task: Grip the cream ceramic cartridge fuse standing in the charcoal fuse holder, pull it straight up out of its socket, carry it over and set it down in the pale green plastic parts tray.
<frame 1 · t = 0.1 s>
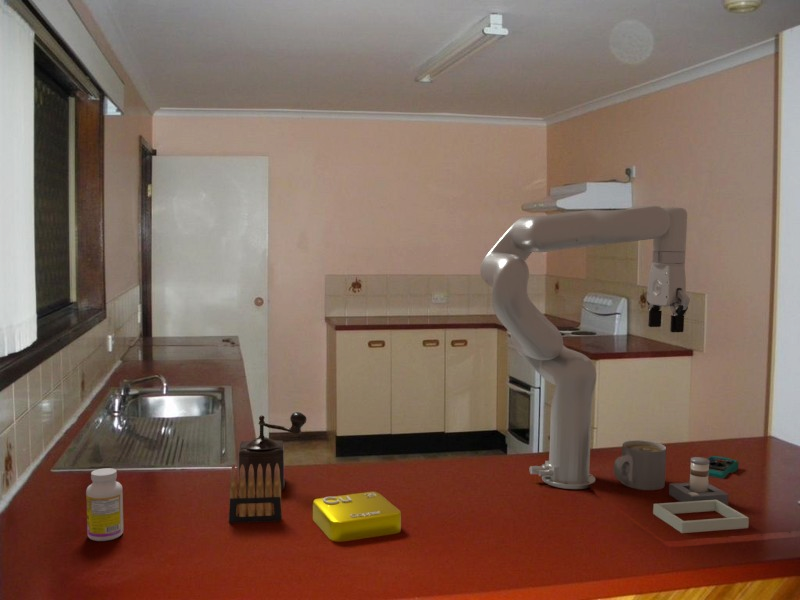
hand: (665, 329, 199), 37 cm above the worktop, tool pointing down, fingers open, 9 cm apart
ammunition clip: (255, 521, 169), on the worktop
supplement bottle: (105, 536, 160), on the worktop
element tile: (356, 527, 168), on the worktop
fuse holder: (697, 504, 183), on the worktop
digital multimeter: (715, 475, 206), on the worktop
fuse: (698, 499, 183), point 1 cm above the worktop, touching fuse holder
coffee mug: (635, 488, 193), on the worktop
parts tray: (699, 525, 170), on the worktop
manual coffee grinder: (272, 486, 191), on the worktop
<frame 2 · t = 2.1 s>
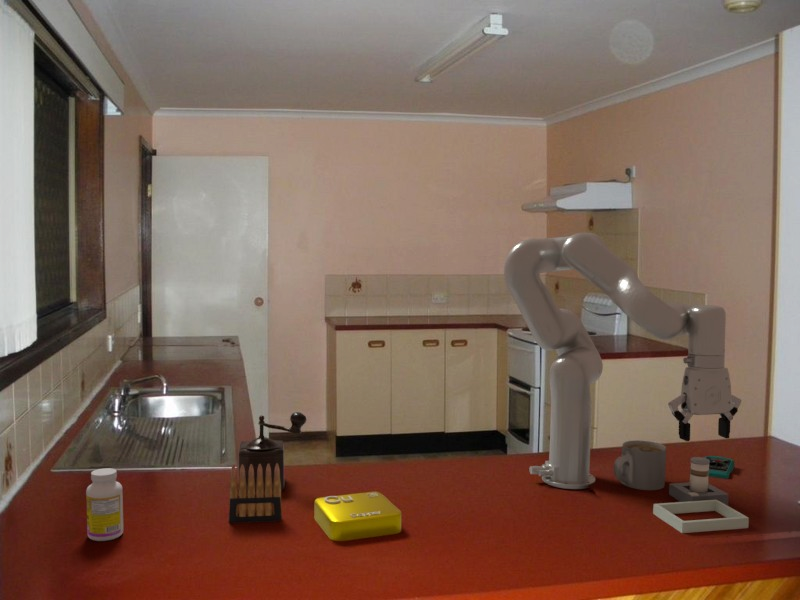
hand: (704, 438, 181), 15 cm above the worktop, tool pointing down, fingers open, 9 cm apart
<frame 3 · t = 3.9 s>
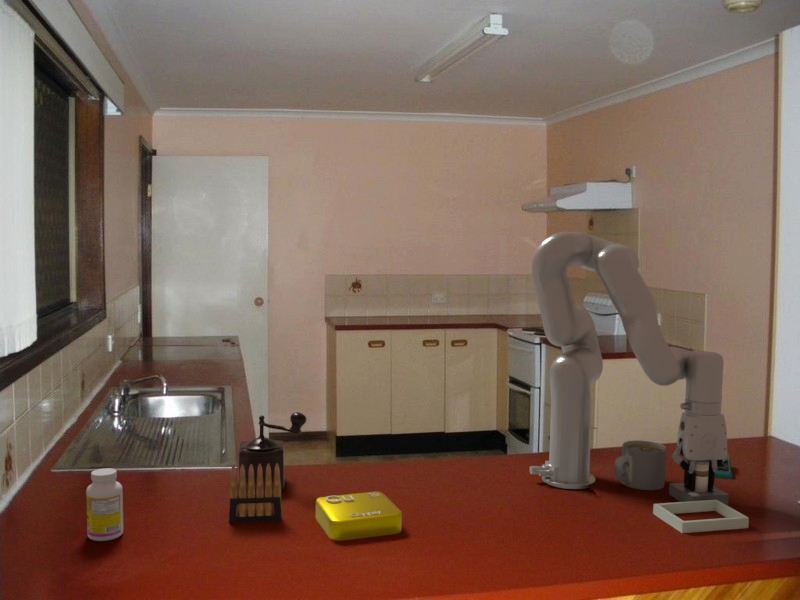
hand: (698, 487, 182), 4 cm above the worktop, tool pointing down, fingers closed on fuse, 3 cm apart
fuse: (698, 499, 183), point 1 cm above the worktop, touching fuse holder, gripper
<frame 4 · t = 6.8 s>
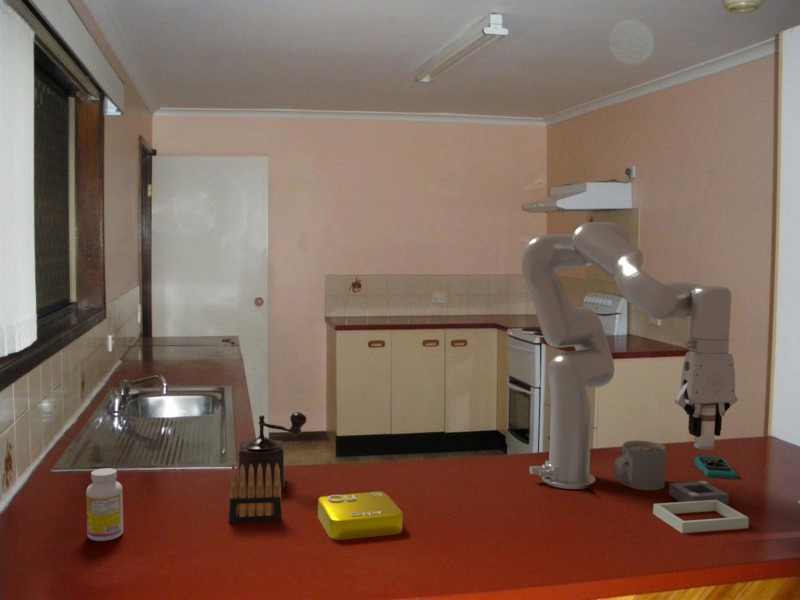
hand: (704, 433, 168), 19 cm above the worktop, tool pointing down, fingers closed on fuse, 3 cm apart
fuse: (703, 447, 168), point 17 cm above the worktop, touching gripper
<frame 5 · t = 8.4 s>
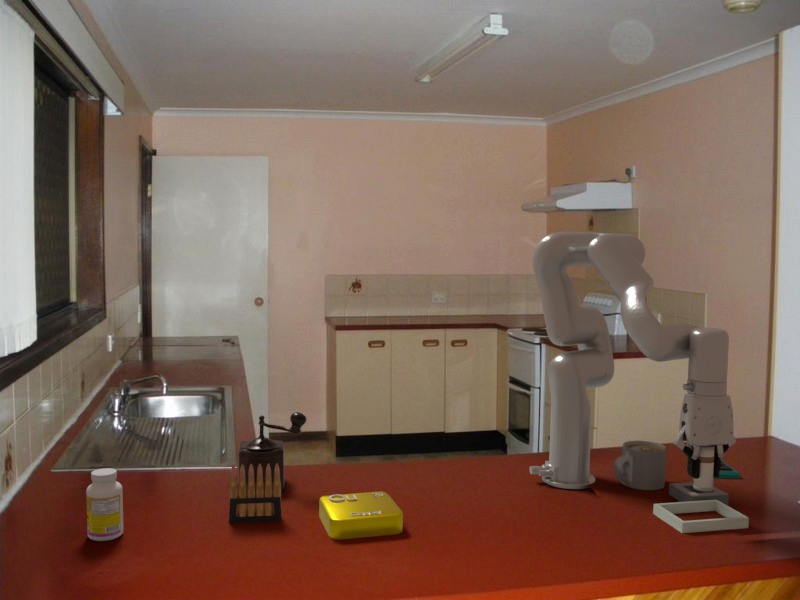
hand: (703, 475, 169), 11 cm above the worktop, tool pointing down, fingers closed on fuse, 3 cm apart
fuse: (702, 488, 169), point 8 cm above the worktop, touching gripper
when the fingers open (4 cm above the worktop, at t = 9.9 s): fuse stays where it is, resting on parts tray.
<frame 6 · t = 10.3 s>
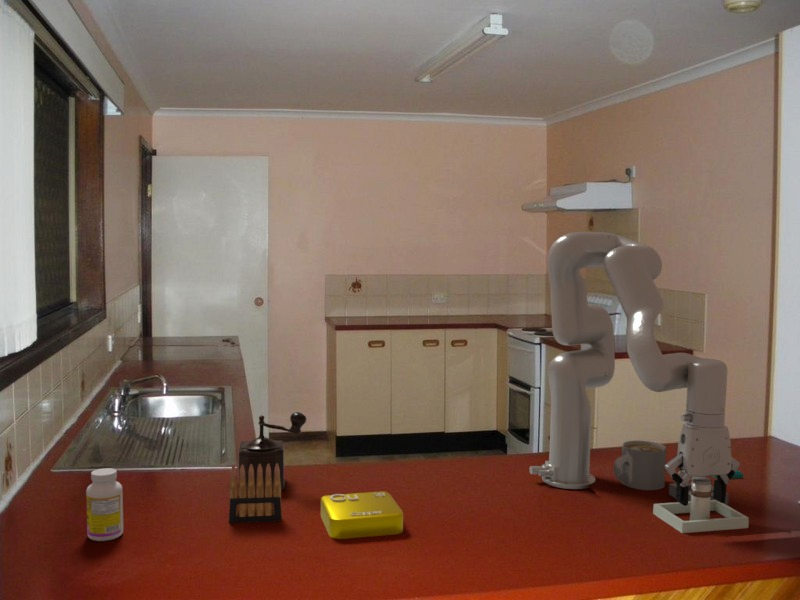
hand: (700, 501, 169), 5 cm above the worktop, tool pointing down, fingers open, 8 cm apart
fuse: (699, 522, 170), point 1 cm above the worktop, touching parts tray
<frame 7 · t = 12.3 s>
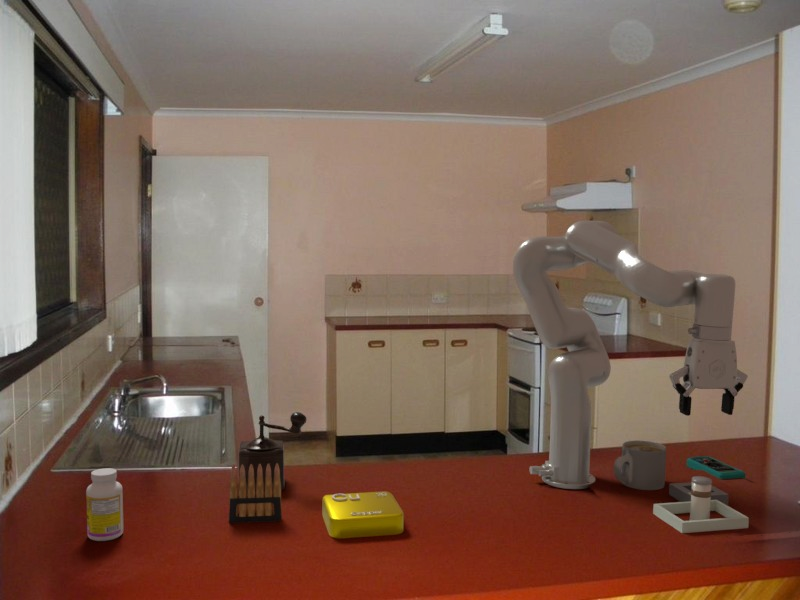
hand: (705, 413, 172), 22 cm above the worktop, tool pointing down, fingers open, 9 cm apart
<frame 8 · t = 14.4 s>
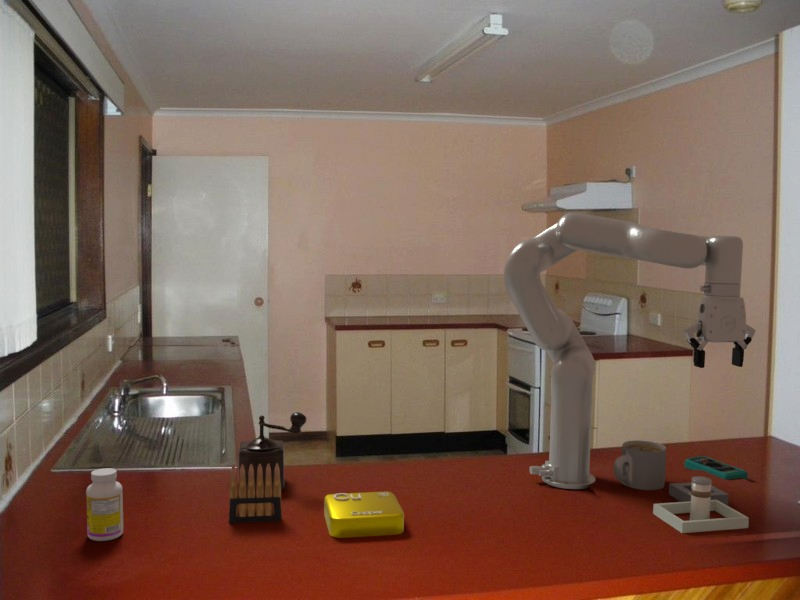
hand: (718, 366, 185), 30 cm above the worktop, tool pointing down, fingers open, 9 cm apart
at the end: fuse inside the target area on the parts tray (0.0 cm from its centre), point 0.6 cm above the parts tray's base; the gripper is holding nothing; fuse touching parts tray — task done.
